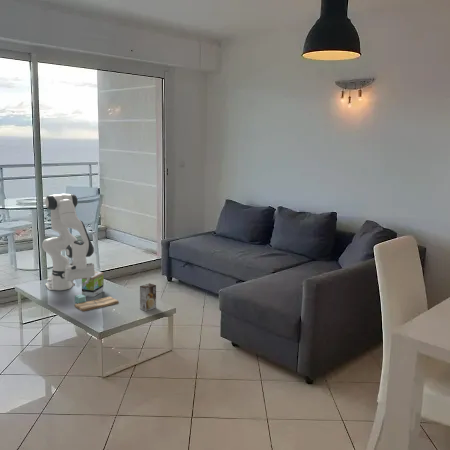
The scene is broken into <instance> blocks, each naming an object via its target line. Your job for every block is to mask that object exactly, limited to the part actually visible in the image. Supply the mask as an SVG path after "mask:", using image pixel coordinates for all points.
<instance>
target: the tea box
mask: <svg viewBox="0 0 450 450" xmlns="http://www.w3.org/2000/svg"><path fill="white" fill-rule="evenodd" d="M104 276H105V275H104V272H102V271H95V275H94V276H92V277H90V279H89V281H88V284H86V283H85V281H86V280H87V278H81V294H82V295H84V296H86V297H90V298H95V297H96V296H97V295H99V294H101V293H103V292H104V290H105V289H104Z"/></svg>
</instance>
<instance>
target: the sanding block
mask: <svg viewBox="0 0 450 450" xmlns="http://www.w3.org/2000/svg"><path fill="white" fill-rule="evenodd" d="M74 302H75V304H78V303H83V302H87V296H84V295H82V293H81V294H77V295H74Z"/></svg>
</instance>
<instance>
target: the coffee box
mask: <svg viewBox="0 0 450 450" xmlns="http://www.w3.org/2000/svg"><path fill="white" fill-rule="evenodd" d="M156 308H157V284H153V283H146V284H143V285H140V286H139V309H140V310H142V311H144V312H149V311H151V310H153V309H156Z"/></svg>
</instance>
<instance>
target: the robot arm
mask: <svg viewBox="0 0 450 450" xmlns="http://www.w3.org/2000/svg"><path fill="white" fill-rule="evenodd" d="M44 204H45V207H46V208H47V209H48V210H50V226H51V229H52V231H54V232H55V233H58V234H59V236H53V237H49V238H45V239H44V240H43V241H42V243H41V244H42V245H41V247H42V250H43V252H44V253H47V254H48V255H49V256H50V257H51V260H52V261H51V262H52V269H51V274H50V276H49V277H48V279H47V280H46V281H47V282H46V283H45V287H46V288H47V289H48V291H66V290H69V289H71V288H72V287H76V283H75V280H80V279H81V280H82V278H87V280H86V281H85V283H86V284H88V281H89V279H90V277H92V276H94V275H95V272H96V271H95V264H94V263H92V262H89V263H87V258H88V257H89V258H90V257H91V256H93V254H94V253H95V248H94V245H93V243H92V241H91V239H90V236H89V233H88V231H87V228H86V225H85V224H84V222H83V221H82V220H81V219H79V217H78V214H77V211H76V207H77V205H78V197H77V196H76V194H73V193H60V194H58V193H57V194H50V195H47V196H45V201H44ZM69 229H73V230H75V231H77V232H78V233H79V235H80V238H81V240H80V239H77V237H76V236H75V235H73V234H72V233H71V232H70V230H69ZM62 252H65V255H66V256H65V255H63V254H62ZM69 258H70V259H72V262H70V261H69ZM69 262H70V263H69Z"/></svg>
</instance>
